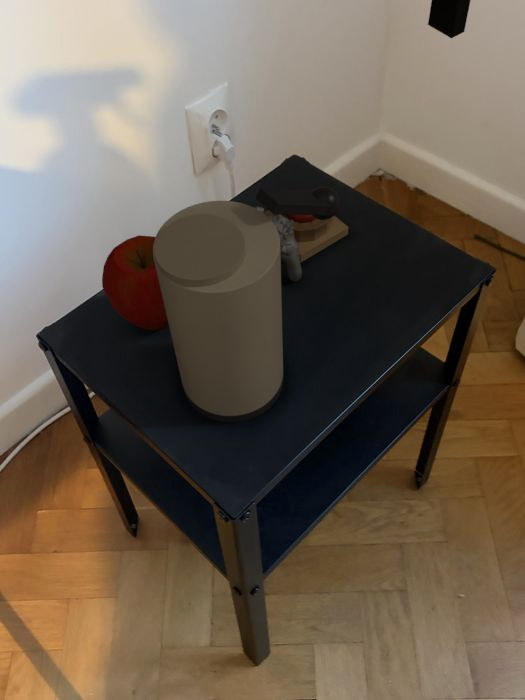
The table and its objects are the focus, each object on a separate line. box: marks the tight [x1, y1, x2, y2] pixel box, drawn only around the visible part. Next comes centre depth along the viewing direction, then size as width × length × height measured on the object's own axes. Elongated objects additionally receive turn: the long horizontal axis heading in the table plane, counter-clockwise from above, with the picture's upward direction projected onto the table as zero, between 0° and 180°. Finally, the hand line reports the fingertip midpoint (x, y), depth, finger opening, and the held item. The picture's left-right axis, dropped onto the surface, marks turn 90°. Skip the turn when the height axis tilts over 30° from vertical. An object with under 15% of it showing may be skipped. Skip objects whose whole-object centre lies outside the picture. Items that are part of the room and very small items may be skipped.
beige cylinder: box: [153, 200, 284, 423], centre depth 64 cm, size 10×10×20 cm
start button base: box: [264, 209, 349, 264], centre depth 83 cm, size 8×7×3 cm
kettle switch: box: [255, 185, 341, 220], centre depth 60 cm, size 3×8×3 cm
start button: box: [287, 189, 316, 223], centre depth 81 cm, size 4×4×2 cm
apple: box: [101, 235, 169, 331], centre depth 73 cm, size 9×8×11 cm
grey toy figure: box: [253, 205, 303, 282], centre depth 77 cm, size 9×12×8 cm
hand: (445, 28), depth 60 cm, fingers closed
